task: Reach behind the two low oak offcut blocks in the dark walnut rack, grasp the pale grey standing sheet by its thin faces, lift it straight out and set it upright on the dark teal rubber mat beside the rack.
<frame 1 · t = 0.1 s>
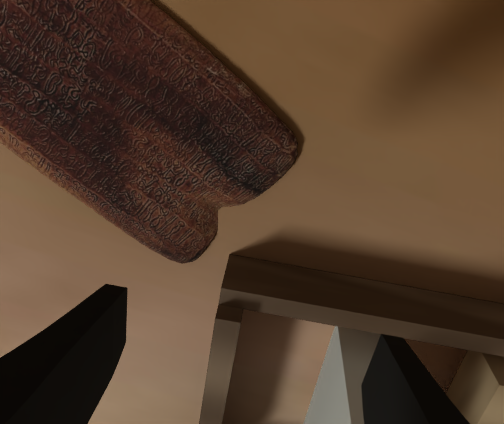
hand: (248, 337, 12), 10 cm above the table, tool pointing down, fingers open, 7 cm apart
rack: (394, 390, 26), on the table
wooden tablet: (23, 29, 19), on the table
offcut block large: (462, 399, 26), resting in rack
grey sheet: (342, 379, 26), resting in rack
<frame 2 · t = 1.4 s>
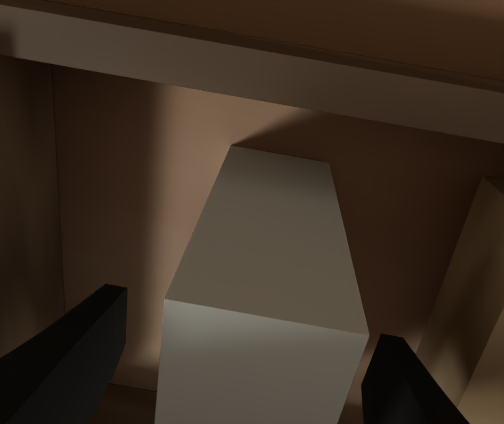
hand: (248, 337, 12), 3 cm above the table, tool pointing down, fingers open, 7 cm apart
rack: (346, 293, 15), on the table
offcut block large: (466, 310, 15), resting in rack
grey sheet: (256, 275, 15), resting in rack
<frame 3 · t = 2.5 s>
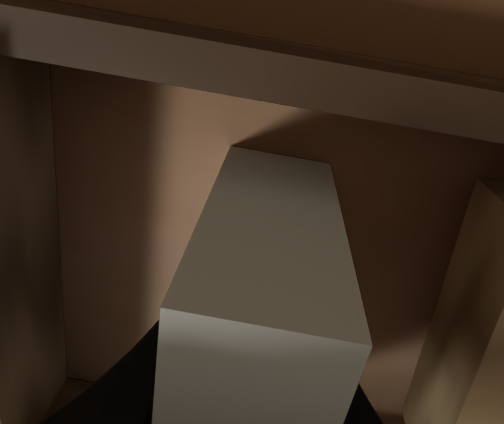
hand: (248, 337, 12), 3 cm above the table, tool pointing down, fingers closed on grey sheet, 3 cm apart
rack: (348, 294, 15), on the table
offcut block large: (468, 312, 15), resting in rack
grey sheet: (256, 277, 15), resting in rack, touching gripper
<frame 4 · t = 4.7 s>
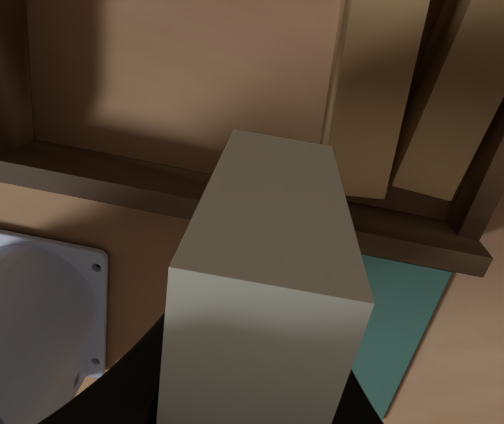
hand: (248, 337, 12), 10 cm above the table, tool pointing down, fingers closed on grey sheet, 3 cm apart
mat: (331, 336, 24), on the table
rack: (263, 35, 18), on the table
offcut block small: (446, 70, 18), resting in rack
offcut block large: (363, 54, 18), resting in rack
grey sheet: (258, 261, 15), point 7 cm above the table, touching gripper
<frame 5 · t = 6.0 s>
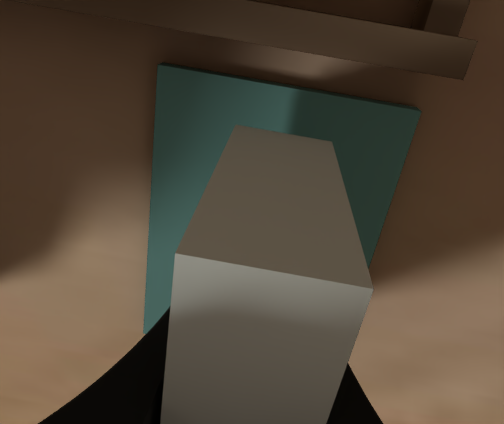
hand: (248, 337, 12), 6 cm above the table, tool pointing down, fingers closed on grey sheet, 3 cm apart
mat: (261, 232, 17), on the table
grey sheet: (259, 255, 15), point 3 cm above the table, touching gripper
when the fingers open (5 cm above the table, at t = 7.0 s): grey sheet stays where it is, resting on mat.
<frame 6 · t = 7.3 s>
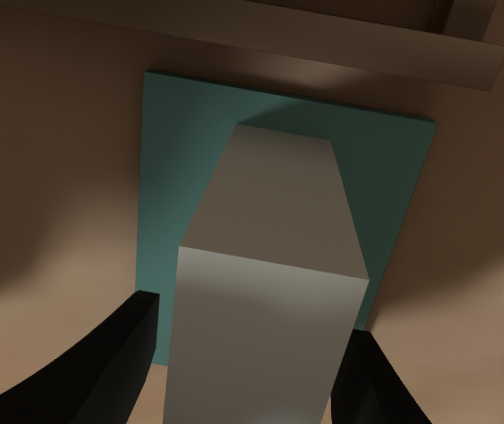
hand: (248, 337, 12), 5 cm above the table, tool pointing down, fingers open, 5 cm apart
mat: (259, 253, 16), on the table
grey sheet: (259, 252, 15), point 1 cm above the table, touching mat
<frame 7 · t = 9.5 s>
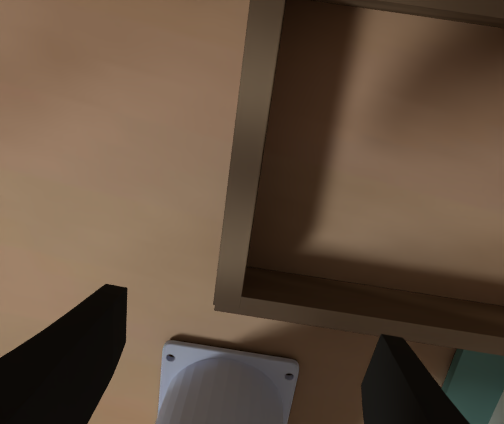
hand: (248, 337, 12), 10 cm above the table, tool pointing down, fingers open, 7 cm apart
rack: (472, 178, 20), on the table
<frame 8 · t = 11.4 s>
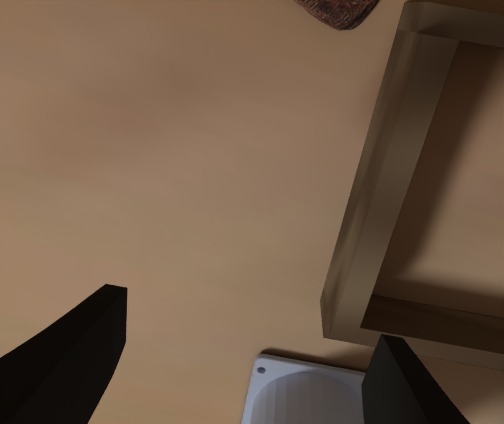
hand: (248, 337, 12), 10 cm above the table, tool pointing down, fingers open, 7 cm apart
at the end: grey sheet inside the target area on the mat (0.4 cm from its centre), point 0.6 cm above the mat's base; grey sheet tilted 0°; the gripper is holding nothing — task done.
